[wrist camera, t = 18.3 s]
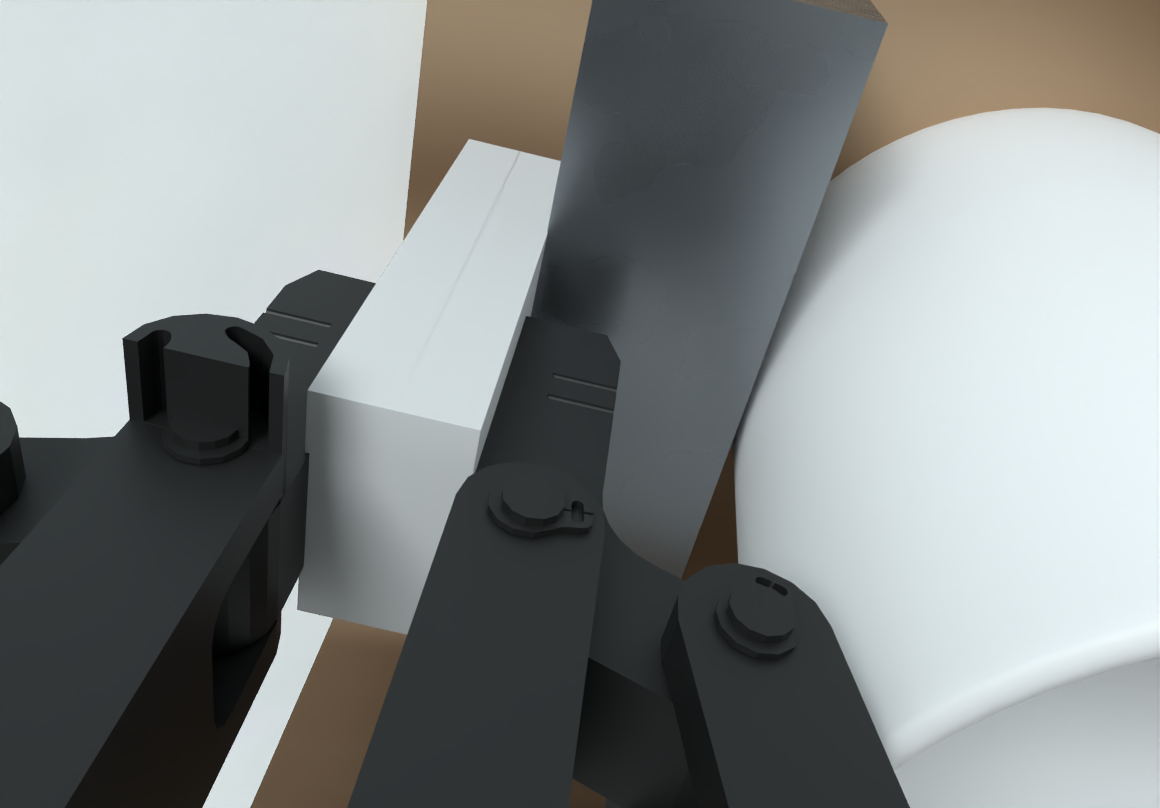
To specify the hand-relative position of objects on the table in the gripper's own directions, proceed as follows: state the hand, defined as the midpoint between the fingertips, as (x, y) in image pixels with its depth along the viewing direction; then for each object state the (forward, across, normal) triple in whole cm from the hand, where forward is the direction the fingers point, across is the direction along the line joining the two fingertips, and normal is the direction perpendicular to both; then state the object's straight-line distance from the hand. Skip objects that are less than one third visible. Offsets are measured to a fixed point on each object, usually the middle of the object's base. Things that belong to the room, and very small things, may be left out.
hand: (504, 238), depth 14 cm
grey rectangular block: (+2, +2, 0) cm, 3 cm away
